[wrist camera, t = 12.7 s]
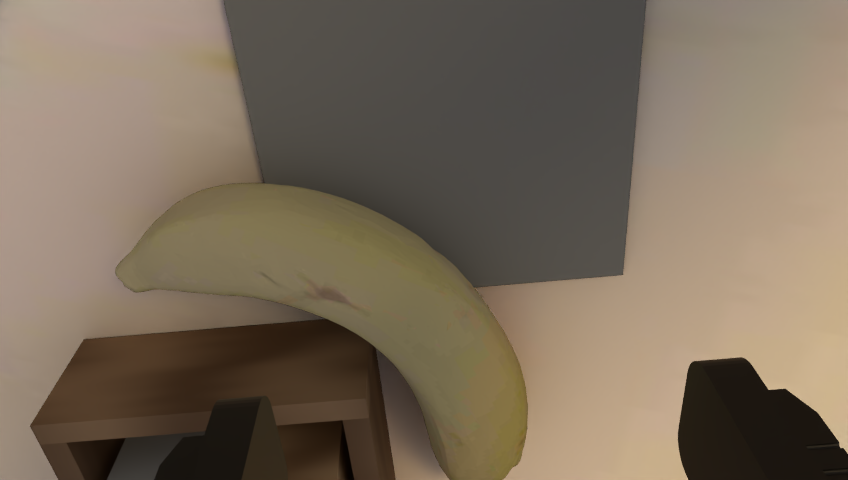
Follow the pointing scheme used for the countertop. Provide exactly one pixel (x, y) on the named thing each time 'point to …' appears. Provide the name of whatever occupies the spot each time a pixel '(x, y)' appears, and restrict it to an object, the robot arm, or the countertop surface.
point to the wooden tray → (213, 391)
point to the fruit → (354, 302)
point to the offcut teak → (316, 451)
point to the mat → (456, 121)
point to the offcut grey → (144, 456)
